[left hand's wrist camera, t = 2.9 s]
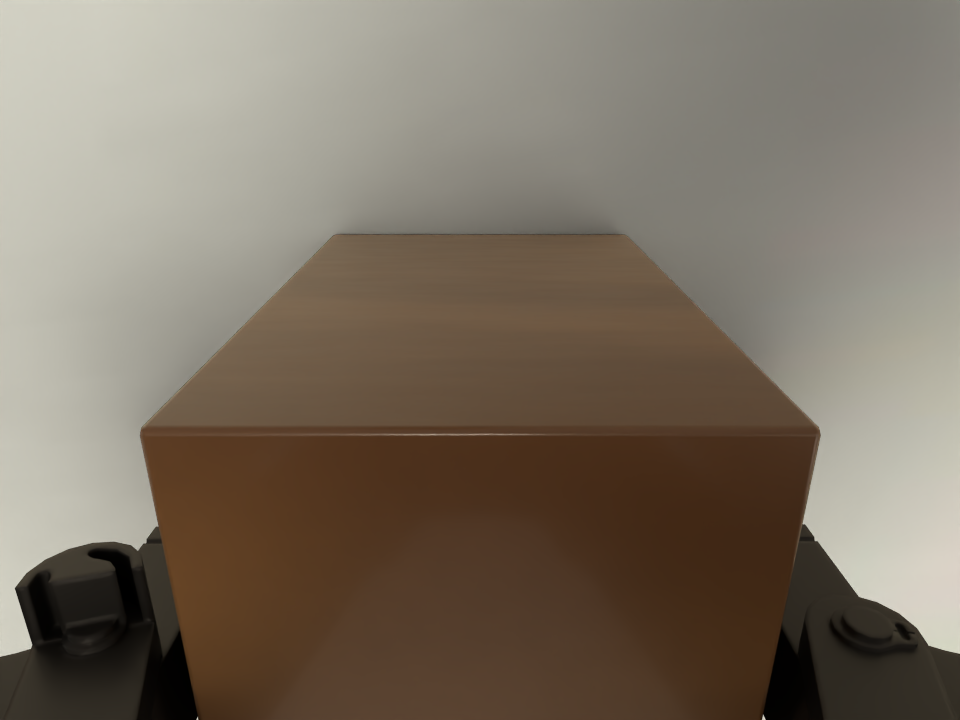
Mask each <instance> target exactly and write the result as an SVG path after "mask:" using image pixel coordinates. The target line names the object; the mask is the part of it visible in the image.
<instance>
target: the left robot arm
mask: <svg viewBox="0 0 960 720" xmlns="http://www.w3.org/2000/svg"><path fill="white" fill-rule="evenodd" d="M15 590H16V593H17V597H18V600H19V603H20V606H21V609H22V613H23V616H24V619H25V622H26V626H27V629H28V632H29V635H30V638H31V642H32V648H31V649H29V650H26V651H22V652H19V653H15V654H11V655H7V656H2V657H0V720H196V719H197V717H198V714H197V710H196V705H195V700H194V695H193V690H192V685H191V680H190V676H189V671H188V666H187V661H186V656H185V651H184V647H183V642H182V637H181V632H180V627H179V622H178V617H177V613H176V608H175V603H174V598H173V593H172V588H171V583H170V579H169V574H168V569H167V564H166V559H165V554H164V549H163V545H162V540H161V535H160V530H159V527H155V529H154V530H153V532H152V533H151V534H150V536H149V537H148V538H147V543H146V544H143V545H142V546H141V548H140V549H139V550H138V551H137V550H136V549H135V548H133V547H132V546H131V545H127V544H122V543H117V542H102V543H91V544H87V545H83V546H79V547H75V548H71V549H68V550H66V551H64V552H61V553H59V554H57V555H55V556H53V557H50V558H48V559H46V560H44V561H43V562H42V563H40V564H39V565H37V566H36V567H35V568H33V569H32V570H30V571H29V572H28V573H26V575H25V576H24V577H23V579H22V580H21V581H20V582H19V584H18V585H17V586H16V587H15ZM763 715H764V717H765V719H766V720H960V654H958V653H953V652H949V651H944V650H941V649H938V648H934V647H931V646H928V644H927V643H926V641H925V640H924V638H923V637H922V635H921V634H920V632H919V631H918V629H917V628H916V627H915V626H914V625H912V624H911V623H910V622H909V621H907V620H906V619H905V618H904V617H903V616H901V615H900V614H899V613H897V612H895V611H893V610H891V609H889V608H887V607H885V606H883V605H881V604H879V603H877V602H874V601H871V600H867V599H864V598H860V597H859V596H858V595H857V594H856V592H855V591H854V590H853V588H852V587H851V586H850V584H849V583H848V582H847V580H846V579H845V578H844V576H843V575H842V574H841V572H840V571H839V570H838V568H837V567H836V566H835V564H834V563H833V562H832V560H831V559H830V558H829V556H828V555H827V553H826V552H825V551H824V549H823V548H822V547H821V545H820V544H819V543H818V541H815V540H814V536H813V535H812V533H811V532H810V531H809V529H808V528H807V527H806V525H805V524H802V528H801V533H800V538H799V542H798V547H797V552H796V557H795V562H794V567H793V571H792V576H791V581H790V586H789V591H788V596H787V600H786V605H785V610H784V615H783V620H782V625H781V630H780V634H779V639H778V644H777V649H776V654H775V659H774V663H773V668H772V673H771V678H770V683H769V688H768V692H767V697H766V702H765V707H764V712H763Z"/></svg>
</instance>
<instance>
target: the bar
mask: <svg viewBox="0 0 960 720" xmlns="http://www.w3.org/2000/svg"><path fill="white" fill-rule="evenodd" d="M140 438H141V443H142V448H143V452H144V457H145V462H146V467H147V472H148V477H149V482H150V486H151V491H152V496H153V501H154V506H155V511H156V516H157V520H158V525H159V530H160V535H161V540H162V545H163V549H164V554H165V559H166V564H167V569H168V574H169V579H170V583H171V588H172V593H173V598H174V603H175V608H176V613H177V617H178V622H179V627H180V632H181V637H182V642H183V647H184V651H185V656H186V661H187V666H188V671H189V676H190V680H191V685H192V690H193V695H194V700H195V705H196V710H197V714H198V719H199V720H762V717H763V712H764V707H765V702H766V697H767V692H768V688H769V683H770V678H771V673H772V668H773V663H774V659H775V654H776V649H777V644H778V639H779V634H780V630H781V625H782V620H783V615H784V610H785V605H786V600H787V596H788V591H789V586H790V581H791V576H792V571H793V567H794V562H795V557H796V552H797V547H798V542H799V538H800V533H801V528H802V523H803V518H804V513H805V508H806V504H807V499H808V494H809V489H810V484H811V479H812V475H813V470H814V465H815V460H816V455H817V450H818V446H819V441H820V430H819V427H818V426H817V425H816V424H815V423H814V422H813V421H812V420H811V419H810V418H809V417H808V416H807V415H806V414H805V413H804V412H803V411H802V410H801V409H800V408H799V407H798V406H797V405H796V404H795V403H794V402H793V401H792V400H791V399H790V398H789V397H788V396H787V395H786V394H785V393H784V392H783V391H782V390H781V389H780V388H779V387H778V386H777V385H776V384H775V383H774V382H773V381H772V380H771V379H770V378H769V377H768V376H767V375H766V374H765V373H764V372H763V371H762V370H761V369H760V368H759V367H758V366H757V365H756V364H755V363H754V362H753V361H752V360H751V359H750V358H749V357H748V356H747V355H746V354H745V353H744V352H743V351H742V350H741V349H740V348H739V347H738V346H737V345H736V344H735V343H734V342H733V341H732V340H731V339H730V338H729V337H728V336H727V335H726V334H725V333H724V332H723V331H722V330H721V329H720V328H719V327H718V326H717V325H716V324H715V323H714V322H713V321H712V320H711V319H710V318H709V317H708V316H707V315H706V314H705V313H704V312H703V311H702V310H701V309H700V308H699V307H698V306H697V305H696V304H695V303H694V302H693V301H692V300H691V299H690V298H689V297H688V296H687V295H686V294H685V293H684V292H683V291H682V290H681V289H680V288H679V287H678V286H677V285H676V284H675V283H674V282H673V281H672V280H671V279H670V278H669V277H668V276H667V275H666V274H665V273H664V272H663V271H662V270H661V269H660V268H659V267H658V266H657V265H656V264H655V263H654V262H653V261H652V260H651V259H650V258H649V257H648V256H647V255H646V254H645V253H644V252H643V251H642V250H641V249H640V248H639V247H638V246H637V245H636V244H635V243H634V242H633V241H632V240H631V239H630V238H629V237H628V236H626V235H334V236H332V237H331V238H330V239H329V240H328V241H327V242H326V243H325V244H324V245H323V246H322V247H321V248H320V249H319V250H318V251H317V252H316V253H315V254H314V255H313V256H312V257H311V258H310V259H309V260H308V261H307V262H306V263H305V264H304V265H303V266H302V267H301V268H300V269H299V270H298V271H297V272H296V273H295V274H294V275H293V277H292V278H291V279H290V280H289V281H288V282H287V283H286V284H285V285H284V286H283V287H282V288H281V289H280V290H279V291H278V292H277V293H276V294H275V295H274V296H273V297H272V298H271V299H270V300H269V301H268V302H267V303H266V304H265V305H264V306H263V307H262V308H261V309H260V310H259V311H258V312H257V313H256V314H255V315H254V316H253V317H252V318H251V319H250V320H249V321H248V322H247V323H246V324H245V325H244V326H243V327H242V328H241V329H240V330H239V331H238V332H237V333H236V334H235V335H234V336H233V337H232V338H231V339H230V340H229V341H228V342H227V343H226V344H225V345H224V346H223V347H222V348H221V349H220V350H219V351H218V352H217V353H216V354H215V355H214V356H213V357H212V358H211V359H210V360H209V361H208V362H207V363H206V364H205V365H204V366H203V367H202V368H201V369H200V370H199V371H198V372H197V373H196V374H195V375H194V376H193V377H192V378H191V379H190V380H189V381H188V382H187V383H186V384H185V385H184V386H183V387H182V388H181V389H180V390H179V391H178V392H177V393H176V394H175V395H174V396H173V397H172V398H171V399H170V400H169V401H168V402H167V403H166V404H165V405H164V406H163V407H162V408H161V409H160V410H159V411H158V412H157V413H156V414H155V415H154V416H153V417H152V418H151V419H150V420H149V421H148V422H147V423H146V424H145V425H144V426H143V427H142V428H141V432H140Z"/></svg>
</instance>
